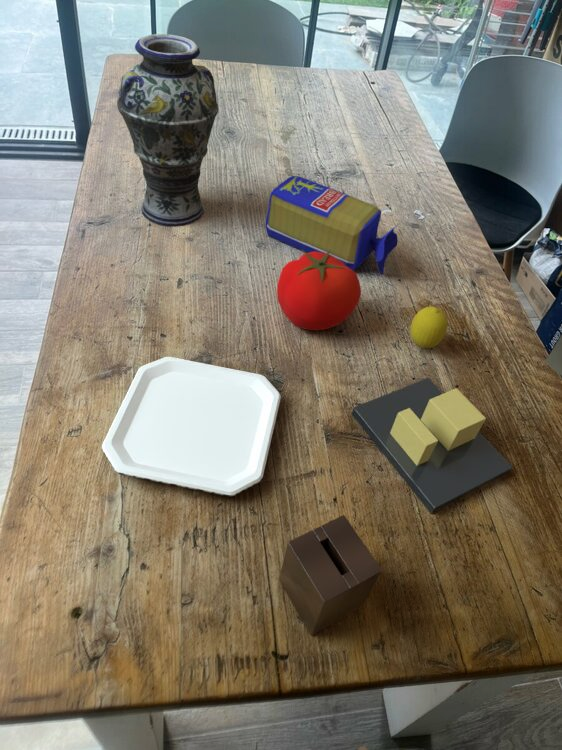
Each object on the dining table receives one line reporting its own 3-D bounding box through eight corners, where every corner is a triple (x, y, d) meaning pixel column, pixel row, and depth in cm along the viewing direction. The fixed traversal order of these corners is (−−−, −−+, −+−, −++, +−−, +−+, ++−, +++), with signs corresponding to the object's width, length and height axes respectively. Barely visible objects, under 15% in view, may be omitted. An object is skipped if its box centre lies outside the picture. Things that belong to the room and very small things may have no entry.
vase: (113, 197, 116) (94, 30, 94) (191, 181, 123) (190, 22, 102) (148, 241, 107) (136, 68, 85) (230, 220, 114) (238, 56, 93)
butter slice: (428, 460, 77) (438, 440, 74) (416, 466, 77) (426, 445, 73) (401, 428, 81) (409, 407, 77) (389, 433, 80) (397, 412, 77)
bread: (285, 215, 118) (291, 167, 110) (396, 261, 111) (411, 213, 103) (258, 236, 112) (263, 187, 104) (374, 287, 105) (388, 238, 97)
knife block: (364, 605, 65) (382, 570, 58) (311, 636, 62) (324, 602, 55) (329, 553, 68) (343, 514, 62) (278, 579, 66) (287, 541, 59)
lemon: (416, 361, 93) (431, 323, 87) (398, 338, 96) (411, 300, 90) (444, 353, 94) (461, 316, 89) (425, 331, 98) (440, 294, 92)
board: (509, 473, 79) (513, 467, 78) (431, 514, 73) (434, 508, 72) (425, 384, 89) (428, 377, 88) (351, 414, 84) (353, 407, 82)
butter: (474, 438, 81) (486, 418, 78) (448, 451, 79) (458, 431, 76) (446, 408, 84) (456, 387, 81) (420, 419, 82) (429, 399, 79)
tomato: (280, 288, 102) (288, 231, 93) (356, 303, 101) (370, 247, 93) (266, 333, 93) (273, 276, 85) (348, 350, 93) (364, 294, 84)
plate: (283, 388, 86) (285, 378, 84) (256, 509, 71) (257, 499, 70) (147, 361, 86) (146, 350, 85) (93, 475, 72) (91, 465, 71)
